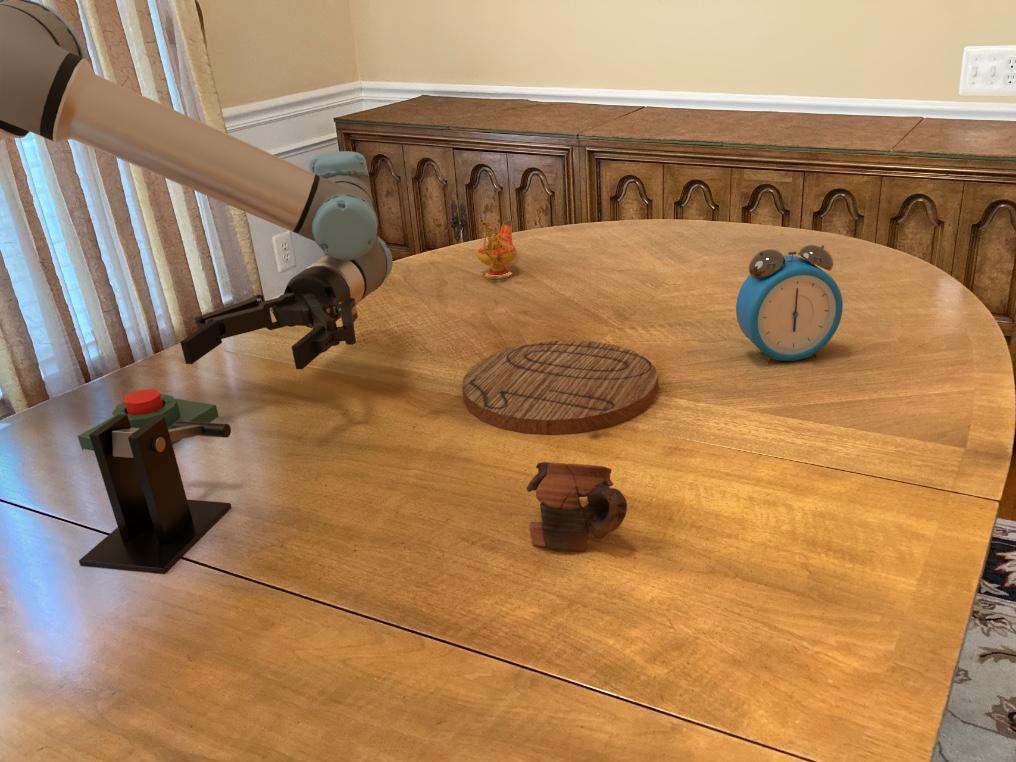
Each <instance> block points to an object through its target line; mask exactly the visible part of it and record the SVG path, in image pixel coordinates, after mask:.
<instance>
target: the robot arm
mask: <svg viewBox="0 0 1016 762" xmlns="http://www.w3.org/2000/svg"><path fill="white" fill-rule="evenodd" d="M29 133H32V134H35V135H37V136H40V137H42V138H45V139H47V140H49V141H51V142H53V143H57V144H60V143H63V142H66V141H68V140H73V141H76V142H78V143H80V144H83V145H85V146H88V147H91V148H93V149H96V150H97V151H99V152H102V153H105V154H106V155H109V156H111V157H114V158H116V159H119V160H121V161H124V162H126V163H128V164H130V165H133V166H135V167H138V168H139V169H142V170H145V171H147V172H149V173H152V174H154V175H157V176H159V177H161V178H163V179H167V180H168V181H171V182H174V183H176V184H179V185H181V186H183V187H185V188H188V189H190V190H192V191H194V192H197V193H199V194H202V195H204V196H207V197H208V198H212V199H214V200H216V201H218V202H220V203H223V204H226V205H228V206H230V207H233V208H235V209H238V210H240V211H242V212H244V213H247V214H250V215H251V216H255V217H256V218H258V219H261V220H264V221H265V222H269V223H271V224H273V225H275V226H278V227H281V228H282V229H286V230H288V231H290V232H293V233H294V234H297V235H299V236H301V237H303V238H306V239H307V240H310V241H313V242H315V243H316V244H317V246H318V247H319V248H320V250H321V251H323V256H322V257H321V258H319V259H318V260H316V261H315V262H314V263H311V264H310V265H309V266H307V267H306V268H304V269H303V270H302V271H300V272H298V273H297V274H296V275H295V276H293V277H292V278H290V280H289V281H288V283H287V284H286V287H285V289H284V291H283V294H280V295H279V296H278V297H275V298H271V299H268V300H265V299H264V295H263V294H259V293H258V294H255V295H254V296H253V295H252V296H251V297H249V298H248V299H246V300H242V301H239V302H237V303H234V304H231V305H228V306H225V307H222V308H219V309H216V310H213V311H210V312H207V313H204V314H201V315H197V316H196V317H194V320H195V321H194V322H195V326H196V330H195V331H194V332H192V333H191V334H190V335H188V336H187V337H185V338H184V339H182V340H181V341H180V346H181V350H182V353H183V357H184V362H185V364H186V365H193V364H194V363H196V362H197V361H198V360H200V359H202V358H203V357H204V356H206V355H207V354H209V353H210V352H212V351H213V350H214V349H217V347H219V346H220V345H221V344H222V343H223V340H224V339H228V338H231V337H235V336H239V335H244V334H247V333H250V332H254V331H258V330H262V329H267V330H269V331H273V330H277V329H281V328H284V327H285V328H286V327H289V328H291V327H296V326H297V327H306V328H309V329H311V330H309V332H308V333H306V334H305V335H304V336H303V337H301V338H300V339H299V340H298V341H296V342H295V343H294V344H293V345H291V351H292V356H293V361H294V366H295V370H303V369H305V368H306V367H307V366H308V365H309V364H311V363H312V362H313V361H314V360H315V359H317V357H319V356H320V355H321V354H324V353H325V352H327V351H328V350H329V349H331V348H332V347H336V346H339V345H340V342H345V345H348V346H351V345H355V344H356V343H357V337H356V330H355V324H354V323H355V322H356V321H357V319H358V317H359V316H358V309H357V304H358V303H360V302H361V301H363V300H364V299H365V298H367V297H368V296H369V295H370V294H372V293H373V292H375V291H376V290H378V289H379V288H380V287H381V286H382V285H383V283H384V282H385V281H386V279H387V278H388V277H389V276H390V274H391V272H392V269H393V262H394V261H393V255H392V252H391V250H390V248H389V247H388V245H387V244H386V242H385V241H384V240H383V239H381V237H379V236H378V227H379V222H378V221H379V218H378V216H377V213H376V211H375V206H374V200H373V194H372V190H371V188H372V187H371V177H370V174H369V170H368V166H367V160H366V158H365V156H364V155H363V154H362V153H360V152H357V151H347V150H346V151H345V150H342V151H341V150H340V151H330V152H324V153H320V154H317V155H315V156H312V158H311V159H310V160H309V162H308V169H306V168H303V167H301V166H299V165H297V164H296V163H295V164H294V163H293V162H290V161H288V160H285V159H284V158H281V157H279V156H277V155H275V154H273V153H271V152H268V151H266V150H264V149H262V148H259V147H257V146H255V145H252V144H251V143H248V142H247V141H244V140H242V139H239V138H237V137H235V136H234V135H231V134H228V133H226V132H224V131H222V130H219V129H217V128H215V127H213V126H211V125H208V124H206V123H204V122H202V121H200V120H197V119H195V118H193V117H191V116H188V115H187V114H184V113H183V112H180V111H177V110H176V109H173V108H171V107H169V106H166V105H164V104H162V103H160V102H157V101H155V100H154V99H151V98H149V97H147V96H144V95H142V94H140V93H138V92H136V91H133V90H131V89H129V88H127V87H124V86H122V85H120V84H118V83H116V82H113V81H111V80H109V79H107V78H105V77H103V76H100V75H99V74H96V73H95V72H94V70H93V67H92V66H91V65H90V63H89V61H88V60H87V59H86V55H85V49H84V46H83V43H82V41H81V39H80V36H79V35H78V33H77V32H76V30H75V28H74V27H73V26H72V25H71V24H70V22H69V21H68V20H67V19H66V18H65V17H63V15H61V14H60V13H59V12H57V11H56V10H55V9H53V8H51V7H50V6H47V5H45V4H44V3H41V2H38V1H35V0H0V142H1V141H2V140H3V139H5V138H6V139H7V138H11V139H23V138H25V137H26V136H27V135H28V134H29ZM271 312H272V314H273V317H274V319H275V321H273V319H272V314H271ZM340 319H341V322H342V323H341V324H342V325H340V326H337V322H338V321H339V320H340Z"/></svg>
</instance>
